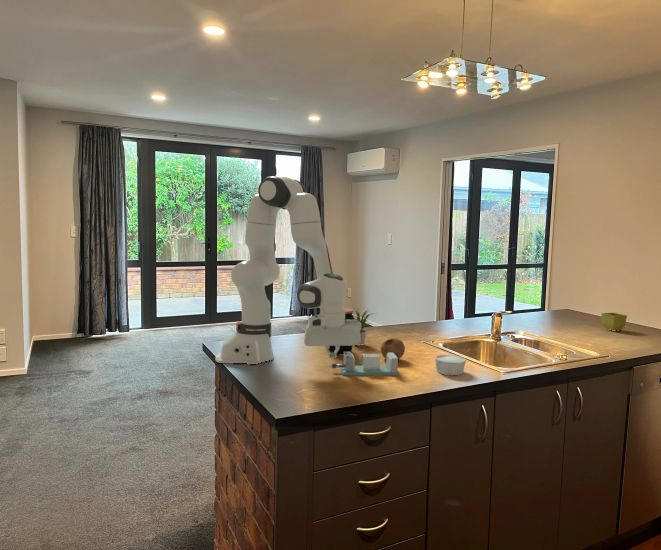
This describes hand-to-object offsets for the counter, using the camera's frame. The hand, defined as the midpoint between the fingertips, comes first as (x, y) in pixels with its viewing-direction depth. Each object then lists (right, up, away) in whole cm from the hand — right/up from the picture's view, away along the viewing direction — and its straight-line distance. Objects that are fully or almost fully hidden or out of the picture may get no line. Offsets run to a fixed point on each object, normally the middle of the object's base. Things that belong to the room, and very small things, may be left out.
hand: (332, 357), depth 176 cm
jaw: (+4, -4, +1) cm, 6 cm away
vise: (+13, -6, +2) cm, 15 cm away
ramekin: (+43, -6, +4) cm, 44 cm away
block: (+14, -4, +2) cm, 15 cm away
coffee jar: (+3, -3, +29) cm, 29 cm away
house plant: (+13, -2, +43) cm, 45 cm away
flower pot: (+151, 0, +87) cm, 174 cm away
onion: (+24, -4, +19) cm, 31 cm away
